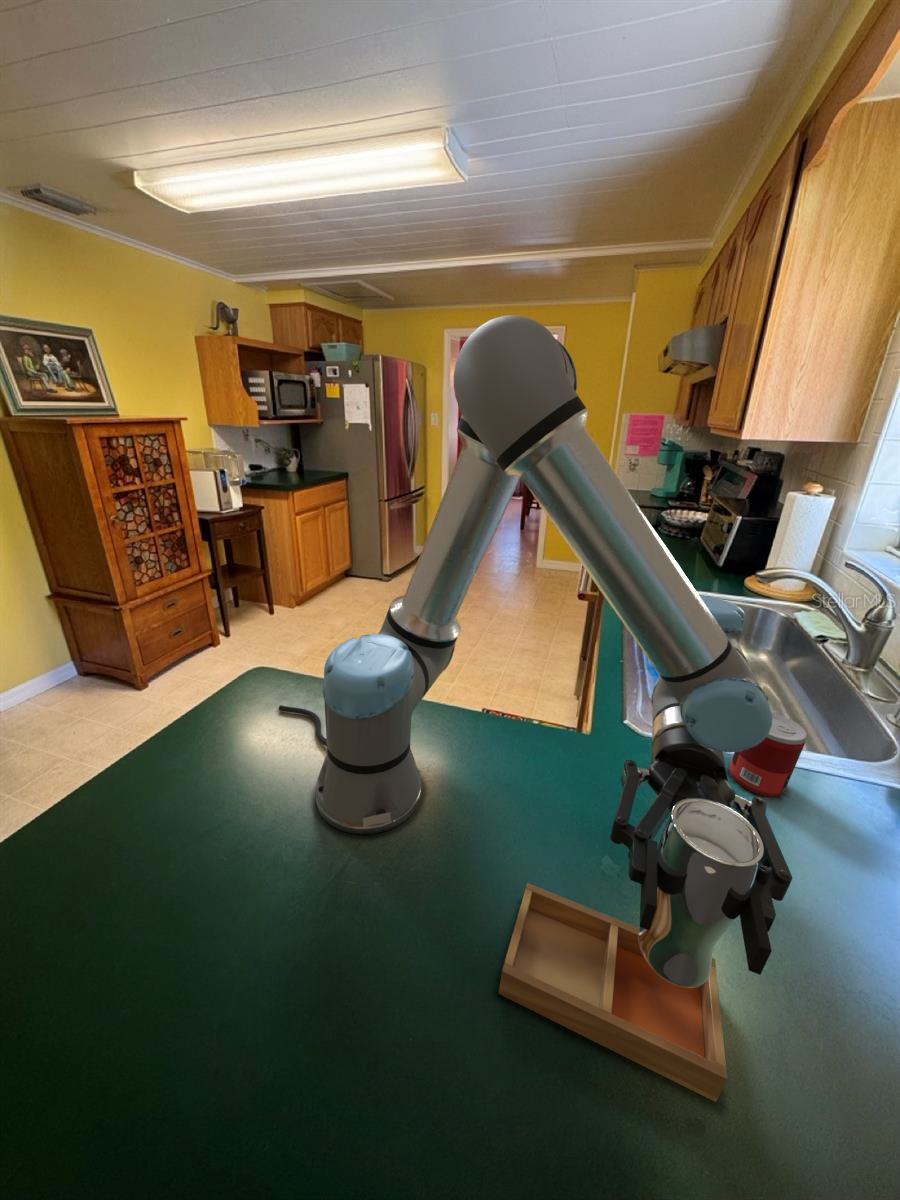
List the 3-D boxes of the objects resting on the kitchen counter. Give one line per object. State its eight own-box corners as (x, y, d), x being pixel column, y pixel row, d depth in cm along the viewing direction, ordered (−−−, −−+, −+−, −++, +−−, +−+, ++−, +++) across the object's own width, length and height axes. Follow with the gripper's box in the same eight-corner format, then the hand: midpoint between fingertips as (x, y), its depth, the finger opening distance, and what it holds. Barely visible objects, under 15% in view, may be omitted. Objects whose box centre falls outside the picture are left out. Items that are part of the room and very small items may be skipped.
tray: (716, 1102, 40) (728, 1079, 39) (498, 993, 47) (501, 971, 45) (705, 981, 49) (715, 958, 47) (523, 904, 55) (527, 882, 54)
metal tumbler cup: (711, 1014, 38) (767, 885, 33) (625, 962, 42) (662, 838, 36) (718, 940, 44) (766, 819, 38) (641, 900, 47) (675, 783, 42)
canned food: (793, 802, 73) (818, 745, 69) (737, 792, 74) (758, 735, 70) (772, 768, 80) (793, 715, 76) (721, 760, 81) (740, 706, 77)
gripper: (774, 806, 53) (843, 1033, 33) (594, 753, 60) (562, 917, 40) (795, 752, 50) (885, 966, 31) (604, 703, 57) (576, 852, 37)
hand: (702, 937), depth 35 cm, fingers closed on metal tumbler cup, 7 cm apart
